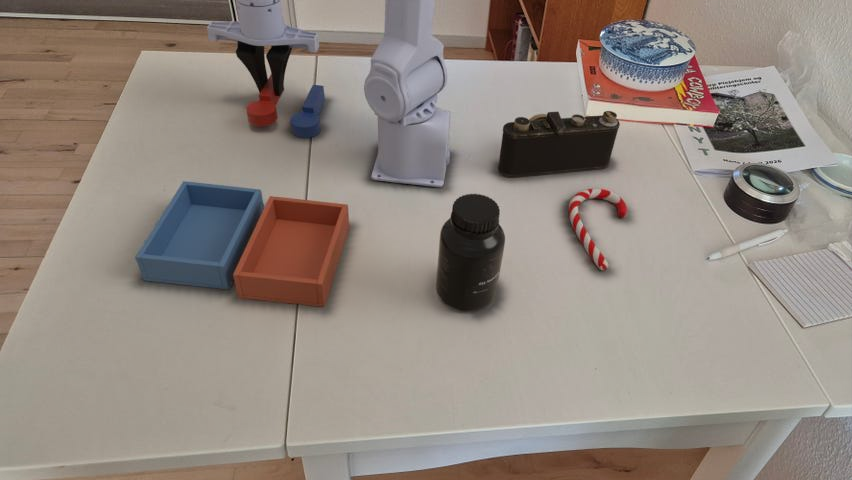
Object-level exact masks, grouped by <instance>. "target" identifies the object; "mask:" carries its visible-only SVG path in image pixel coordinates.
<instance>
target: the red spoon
mask: <svg viewBox="0 0 852 480" xmlns="http://www.w3.org/2000/svg"><path fill="white" fill-rule="evenodd" d="M284 91H285V89H284V90H283V92H282V93H281V95H280V96H275V93H274V89H273V80H272V74H271V73H270V75H269V77H268V80H267V82H266V84H265V85H264V87H263V89H262V90H261V92H260V93H259V94H258V100H254V101H251V102H249V103H248V104H247V105H246V106H245V111H246V116H247V121H248V122H249V124H251V125H252V126H256V127H267V126H272V125H274V124H275V123H276V122H277V121H278V119H279V118H278V111H277V104H278V102H279V100H280V99H281V97H282V95H283V93H284Z"/></svg>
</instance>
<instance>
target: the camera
mask: <svg viewBox="0 0 852 480" xmlns="http://www.w3.org/2000/svg"><path fill="white" fill-rule="evenodd" d="M617 117H618V115H617V113H616V112H614V111H612V110H605V111H603V113H602V115H591V116H590V115H588V116H584V115H581V114H577V113H576V114H572V115H571V117H561V114H560V112H559V111H547V113H539V114H535V115H533V116H531V117H530V118H528V117H524V116H518V117H516V118H514V121H510V122H509V121H508V122H507V123H505V124H504V125H503V127H502V136H501V143H500V150H499V159H498V165H497V172H498V174H500V175H501V176H502V177H505V178H507V179H508V178H510V179H513V178H523V177H532V176H543V175H553V174H554V175H555V174H564V173H565V174H566V173H576V172H584V171H596V170H604V169H607V168H608V167H609V166H610V161H611V157H612V154H613V149H614V146H615V142H616V139H617V135H618V132H619V129H620V125H621V123H620V120H618V118H617Z"/></svg>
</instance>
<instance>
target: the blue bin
mask: <svg viewBox="0 0 852 480" xmlns="http://www.w3.org/2000/svg"><path fill="white" fill-rule="evenodd" d="M264 207H265V205H264V199H263V193H262V189H260V188H259V189H258V188H250V187H241V186H232V185H224V184H215V183H205V182H195V181H186V180H183V181H182V183H181V184H180V185H179V187H178V188H177V190H176V192H175V194H174V195H173V196H172V198H171V200H170V201H169V202H168V204H167V206H166V208H165V209H164V211H163V212H162V214H161V215H160V217H159V219H158V220H157V222H156V224H155V225H154V226H153V228H152V229H151V231H150V233H149V234H148V236H147V237H146V239H145V240H144V242H143V243H142V245H141V246H140V248H139V250H138V251H137V253H136V255H135V256H134V258H135V261H136V263H137V266H138V269H139V272H140V274H141V278H142V279H143V281H144V282H154V283H155V282H156V283H166V284H175V285H183V286H194V287H203V288H212V289H219V290H220V289H222V290H230V289H231V287H232V285H233V282H234V276H233V274H234V272H235V270H236V267H237V265H238V263H239V261H240V259H241V257H242V255H243V252H244V250H245V248H246V246H247V244H248V242H249V240H250V237H251V235H252V233H253V231H254V229H255V227H256V225H257V222H258V220H259V218H260V216H261V214H262V212H263V210H264Z"/></svg>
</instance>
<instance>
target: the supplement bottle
mask: <svg viewBox="0 0 852 480" xmlns="http://www.w3.org/2000/svg"><path fill="white" fill-rule="evenodd" d="M500 211H501V210H500V206H499V205H498V202H496V201H495V200H494V199H493V198H491V197H489V196H486V195H484V194H480V193H468V194H463V195H461V196H458V198H455V200H454V201H453V203H452V208H451V213H450V217H449V218H448V219H447V220H446V221H445V222H444V224H442V227H441V229H440V233H439V242H438V255H437V256H438V258H437V268H436V281H435V289H436V292H437V296H438V298H439V299H440V300H441V301H442V302H443V303H444V304H445V305H447V306H448V307H450V308H452V309H454V310H457V311H462V312H475V311H479V310H481V309H484V308H486V307H488V306H489V305H490V304H491V303H492V302H493V301H494V299H495V298H496V295H497V290H498V286H499V280H500V273H501V267H502V262H503V256H504V250H505V244H506V235H505V232H504V229H503V227H502V226H501V225H500Z"/></svg>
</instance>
